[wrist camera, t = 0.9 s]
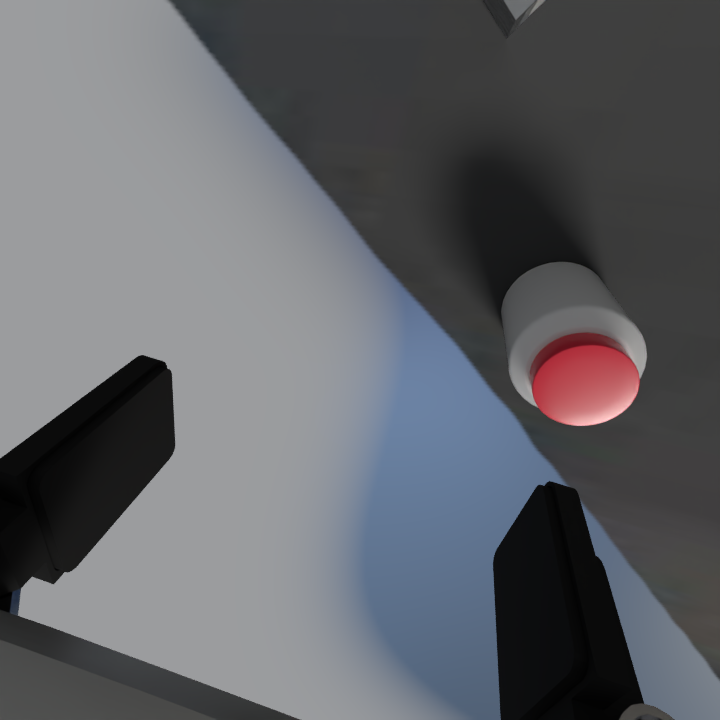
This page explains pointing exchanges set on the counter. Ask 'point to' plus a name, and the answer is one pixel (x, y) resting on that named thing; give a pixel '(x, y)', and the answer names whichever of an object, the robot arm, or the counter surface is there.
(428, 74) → the counter surface
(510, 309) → the pill bottle
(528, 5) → the sleeve
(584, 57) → the counter surface
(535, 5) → the light grey bar
